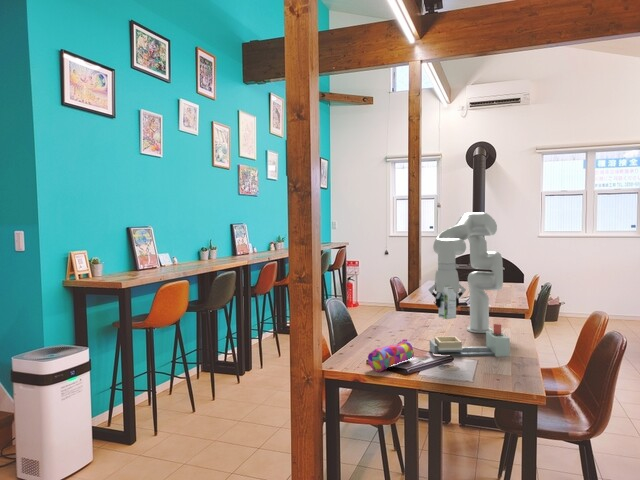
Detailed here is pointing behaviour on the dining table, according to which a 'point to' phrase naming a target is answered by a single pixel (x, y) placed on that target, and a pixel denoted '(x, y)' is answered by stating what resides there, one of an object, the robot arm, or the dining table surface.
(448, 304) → the syrup box
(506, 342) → the housing
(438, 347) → the carriage
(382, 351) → the pencil case
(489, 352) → the rail
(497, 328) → the button
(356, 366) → the dining table surface
